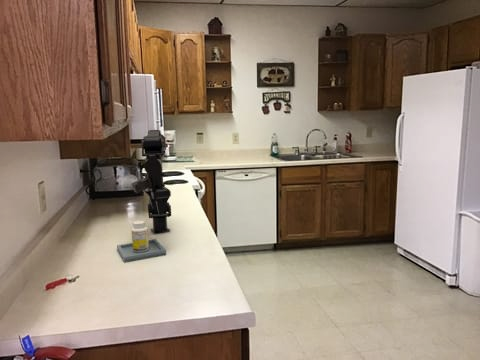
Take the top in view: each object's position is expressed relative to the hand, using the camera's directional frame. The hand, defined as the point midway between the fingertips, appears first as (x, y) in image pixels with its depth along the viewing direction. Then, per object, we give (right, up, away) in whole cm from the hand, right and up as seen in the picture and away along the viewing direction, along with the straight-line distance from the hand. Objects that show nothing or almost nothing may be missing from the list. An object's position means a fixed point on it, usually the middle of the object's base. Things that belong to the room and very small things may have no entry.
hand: (157, 211), depth 153 cm
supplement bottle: (-4, -13, -9) cm, 16 cm away
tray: (-4, -14, -9) cm, 17 cm away
